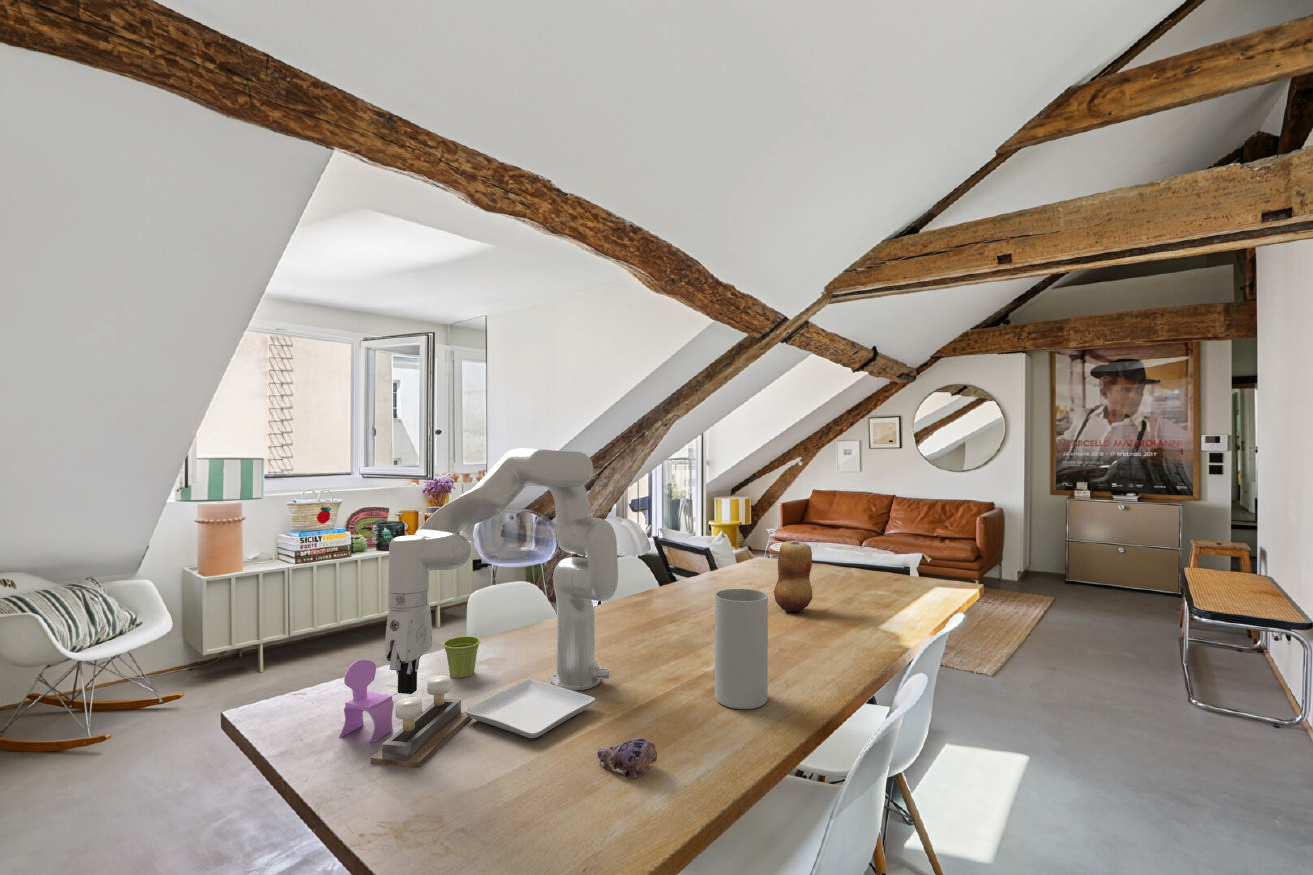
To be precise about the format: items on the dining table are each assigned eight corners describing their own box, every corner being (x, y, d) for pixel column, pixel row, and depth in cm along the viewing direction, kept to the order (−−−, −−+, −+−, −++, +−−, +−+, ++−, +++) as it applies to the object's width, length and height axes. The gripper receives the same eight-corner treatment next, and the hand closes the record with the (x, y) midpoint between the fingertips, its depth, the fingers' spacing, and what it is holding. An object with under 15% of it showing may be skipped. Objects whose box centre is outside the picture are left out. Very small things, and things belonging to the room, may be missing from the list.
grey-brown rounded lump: (589, 768, 122) (589, 735, 122) (614, 751, 128) (614, 721, 128) (641, 787, 115) (641, 753, 115) (664, 769, 121) (664, 736, 121)
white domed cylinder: (426, 723, 129) (426, 697, 129) (413, 734, 124) (413, 707, 124) (404, 722, 130) (404, 696, 130) (390, 732, 125) (390, 706, 125)
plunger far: (454, 699, 141) (454, 676, 141) (443, 708, 136) (443, 684, 136) (434, 698, 142) (434, 674, 142) (422, 707, 137) (422, 682, 137)
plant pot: (469, 682, 164) (469, 648, 164) (436, 679, 165) (436, 646, 165) (486, 669, 173) (486, 637, 173) (454, 667, 175) (454, 635, 175)
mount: (470, 717, 143) (471, 700, 143) (418, 767, 121) (418, 747, 121) (429, 714, 145) (429, 697, 145) (370, 762, 123) (370, 743, 123)
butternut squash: (804, 618, 222) (804, 546, 222) (768, 612, 229) (768, 542, 229) (817, 609, 234) (818, 540, 234) (783, 604, 241) (783, 537, 241)
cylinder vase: (771, 693, 157) (771, 590, 157) (762, 713, 145) (762, 603, 145) (721, 686, 161) (721, 587, 161) (709, 706, 149) (709, 598, 149)
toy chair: (368, 746, 130) (368, 672, 130) (335, 739, 133) (335, 666, 133) (398, 728, 138) (398, 658, 138) (366, 722, 141) (366, 654, 141)
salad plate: (534, 749, 129) (534, 732, 129) (461, 724, 141) (461, 708, 141) (598, 711, 147) (598, 696, 147) (529, 691, 159) (529, 677, 159)
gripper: (405, 609, 119) (403, 708, 119) (444, 591, 134) (443, 680, 134) (368, 607, 120) (366, 705, 120) (411, 589, 135) (410, 677, 135)
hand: (407, 691), depth 127 cm, fingers closed
